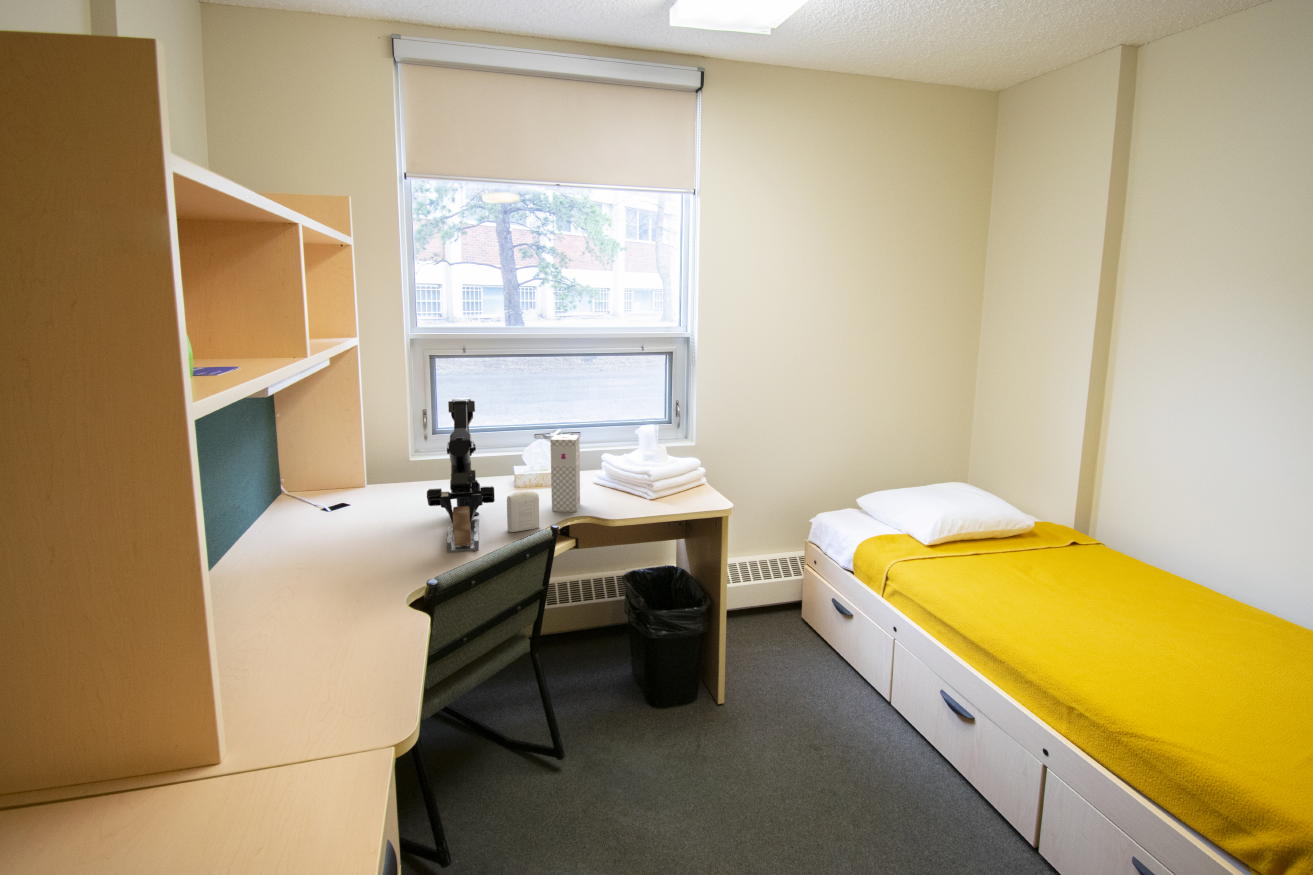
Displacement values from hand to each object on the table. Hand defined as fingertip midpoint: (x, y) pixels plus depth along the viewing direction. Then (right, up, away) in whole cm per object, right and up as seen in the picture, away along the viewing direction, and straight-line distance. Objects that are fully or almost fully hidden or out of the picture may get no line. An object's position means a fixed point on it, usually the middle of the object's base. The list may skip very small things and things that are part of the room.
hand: (461, 522), depth 194 cm
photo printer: (+14, -5, +21) cm, 25 cm away
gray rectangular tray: (-2, -7, +11) cm, 13 cm away
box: (+24, -1, +43) cm, 49 cm away
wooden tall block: (0, -6, +3) cm, 7 cm away
